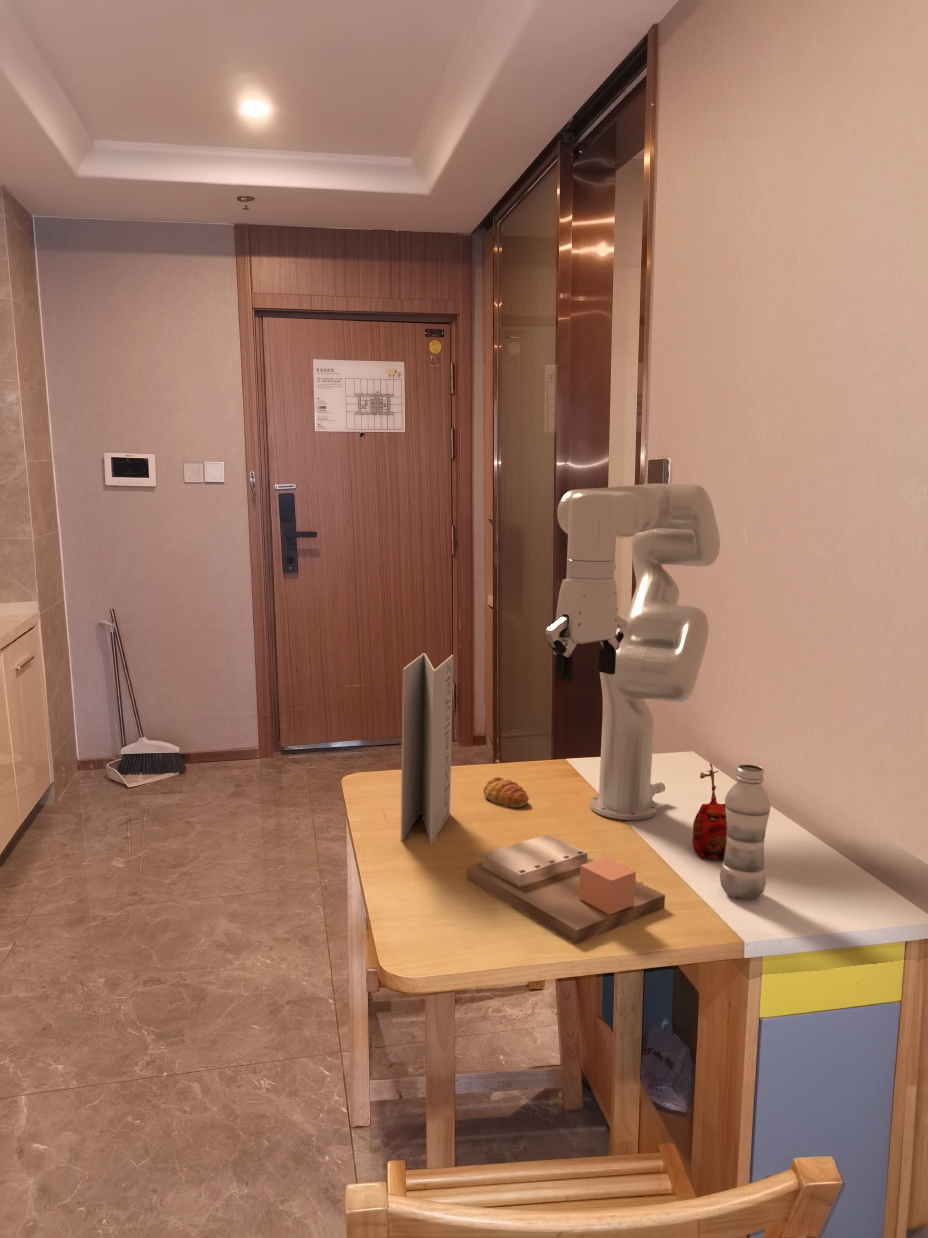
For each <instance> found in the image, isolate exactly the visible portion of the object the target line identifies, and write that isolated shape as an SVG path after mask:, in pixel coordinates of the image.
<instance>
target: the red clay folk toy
mask: <svg viewBox="0 0 928 1238" xmlns="http://www.w3.org/2000/svg"><path fill="white" fill-rule="evenodd" d="M709 766H710V770H707V772H708V773H704V772H700V776H699V778H700V779H704V778H706V777H710V780H711V791H712V793H711V797H710V802H709V803H702V804H701V806H700V808H699V810H698V811H697V813H696V815H695V817H694V820H693V824H692V838H691V839H692V840H691V843H692V844H691V845H692V849H693V850H694V852H695V854H696V855H697V857H698V858H701V859H707V860H714V861H715V860H722V861H724V855H725V848H726V842H727V821H726V809H725V803H718V802H717V796H716V793H715V791H716V788H717V786H716V785H715V774H717V773H719V770H717V771H714V769H713V768H714V767H713V764H712V763H709Z"/></svg>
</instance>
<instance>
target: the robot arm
mask: <svg viewBox="0 0 928 1238" xmlns="http://www.w3.org/2000/svg"><path fill="white" fill-rule="evenodd" d="M556 516H557V522H558V524H559V526H560V528H561V529H562V531H563V532H564V533H565V534H567V555H566V556H567V557H566V578H563V579H562V582H561V583H560V584H561V585H560V587H559V589H560V590H559V593H558V599H557V607H556V614H555V622H554V623H552V624H551V625H550V626H548V627H547V628H546V629H545V635H546V638H547V640H548V645H549V647H550V648H551V649H552V651H553V652H552V653H553V654H554V655H556V657H555V658H556V660H555V678H556V679H557V680H560V681H564V682H568V683H569V682H572V681H573V672H574V669H573V668H574V657H573V656H571V655H572V652H573V651H574V649H575V648H576V647H577V644H579V645H581V644H589V643H600V644H601V646H602V647H600V648H599V652H598V671H599V677H600V685H601V693H602V719H601V720H602V722H601V723H602V725H601V742H600V743H601V744H600V746H601V747H600V767H599V783H598V784H599V788H598V793H597V794H595V795H594V796H592V797H591V798H590V801H589V803H590V804H589V806H590V809H591V810H593V812H595V813H596V814H598V815H600V816H603V817H605V818H610V819H614V820H620V821H640V820H641V821H642V820H646V819H650V818H652V817H654V816H655V815H657V814H658V804H657V802H656V801H655V800H654V799H653V797H655V795H656V794H661V793H664V792H665V791H666V786H665V784H664V783H663V782H662V781H661V782H660V781H659V782H655V783H651V779H652V766H653V765H652V763H653V762H652V761H653V749H654V748H653V747H654V746H653V744H654V728H655V725H654V724H655V723H654V717H653V714H652V711H651V710H650V707H649V706H648V704H647V703H646V701H645V700H646V699H648V700H654V701H661V702H667V703H683V702H686V701H687V700H688V699H690V697H691V695H692V693H693V691H694V689H695V686H696V683H697V680H698V676H699V672H700V669H701V666H702V661H703V659H704V654H705V652H706V649H707V644H708V643H707V642H708V639H709V629H710V627H709V619H708V617H707V615H706V612H704V610H703V609H701V608H699V607H696V606H692V605H685V604H678V602H679V599H680V589H679V587H678V584H677V583H676V582H675V580H674V579H673V577H672V576H671V574H670V573H669V572H668V571H667V570H666V569H665V568H664V566H663V565H671V566H685V567H697V568H698V567H699V568H701V567H709V566H711V565H712V564H714V563H715V562H716V561H717V559H718V557H719V554H720V551H721V550H720V549H721V539H720V531H719V528H718V523H717V519H716V515H715V510H714V507H713V504H712V500H711V498H710V496H709V493H708V492H707V491H706V489H705V488H704V487H703V486H701V485H699V484H691V483H689V484H685V483H645V484H644V483H643V484H634V485H633V484H632V485H618V486H611V487H597V488H580V489H579V488H578V489H570V490H568V491H567V492H566V493H564V494H563V496H562V497H561V499H560V501H559V503H558V506H557V513H556ZM617 538H620V539H622V538H623V539H625V538H631V558H632V565H633V566H632V567H633V571H634V576H635V586H636V587H635V590H634V593H633V595H632V599H631V602H630V604H629V606H628V610H627V612H626V616H625V618H622V617H621V616H619V614H618V613H619V611H618V609H619V608H618V607H619V606H618V605H619V604H618V602H619V601H618V592H617V591H618V589H617V584H616V579H615V570H616V569H617V564H616V563H615V562H616V560H615V559H616V545H617V544H616V543H617ZM622 640H623V642H624V643H625V644H621V642H622ZM644 699H645V700H644Z"/></svg>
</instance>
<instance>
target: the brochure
mask: <svg viewBox="0 0 928 1238" xmlns="http://www.w3.org/2000/svg"><path fill="white" fill-rule="evenodd" d="M453 678H454V654H451V655H450V656H449V657H448V658H446V659H445V660H444V661H443V662H442V663H440V664H439V665H438V667H437V666H436V668H435V669H434V666H433V665H432V663H431V661H430V659H429V657H428V656H427V653H424V652H423V653H422V654H421V655H419V656H417V657H416V658H415V659H414V660H413V661H411V662H410V663H408V664H407V665H406V666H404V668H402V695H401V696H402V705H401V709H402V710H401V715H402V717H401V720H402V722H401V777H400V778H401V779H400V780H401V781H400V782H401V787H400V789H401V791H400V792H401V794H400V841H403V840H404V839H405V838H406V836H407V834H408V833H409V831H410V830H411V829H412V827H413V826H414V824H415V822H416V821H417V820H418V819H419V817H420V816H422V819H423V822H424V828H425V830H426V833H427V837H428V841H429V844H433V842H434V841H435V839H436V838H437V836H438V835H439V832H441V829H442V828H443V826H444V825H445V823H446V821H447V819H448V818H449V816H450V814H451V784H452V783H451V775H452V771H451V770H452V738H453V737H452V732H453V730H452V729H453V728H452V727H453V687H454V686H453V684H454V679H453Z"/></svg>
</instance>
